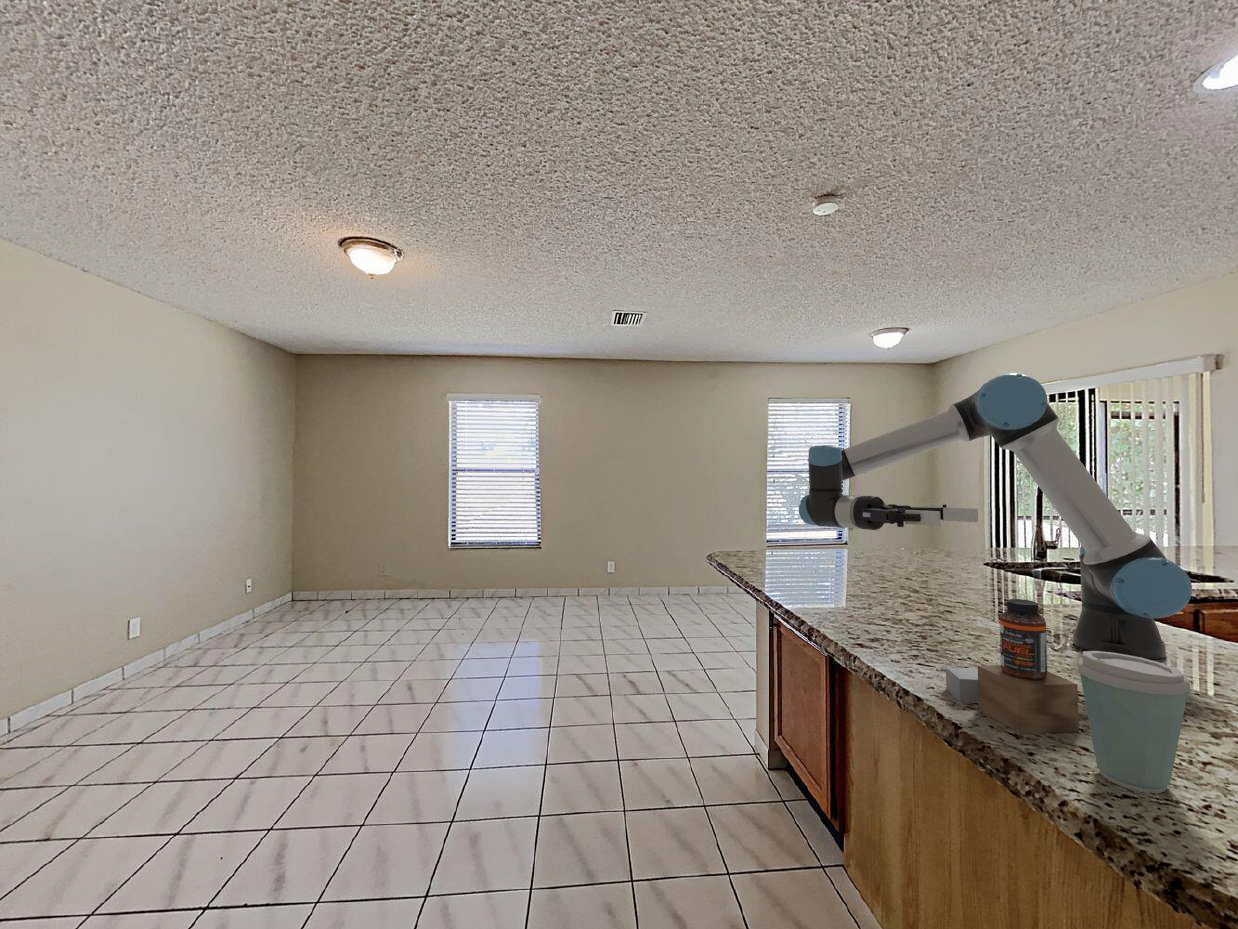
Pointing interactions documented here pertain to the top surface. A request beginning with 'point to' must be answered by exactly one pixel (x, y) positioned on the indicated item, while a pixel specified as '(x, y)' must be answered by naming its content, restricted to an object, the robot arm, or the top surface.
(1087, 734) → the top surface
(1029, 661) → the supplement bottle
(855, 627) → the top surface
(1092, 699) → the disposable coffee cup
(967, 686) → the grey block
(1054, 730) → the walnut block
